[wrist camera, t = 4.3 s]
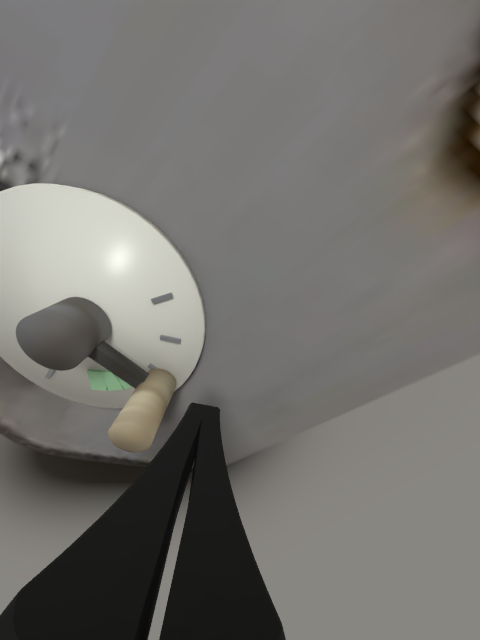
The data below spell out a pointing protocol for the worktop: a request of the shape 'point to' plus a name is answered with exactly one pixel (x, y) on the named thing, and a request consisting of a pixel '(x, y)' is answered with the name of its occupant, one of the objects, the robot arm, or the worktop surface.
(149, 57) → the worktop surface
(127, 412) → the crank handle
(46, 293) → the dial plate
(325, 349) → the worktop surface
